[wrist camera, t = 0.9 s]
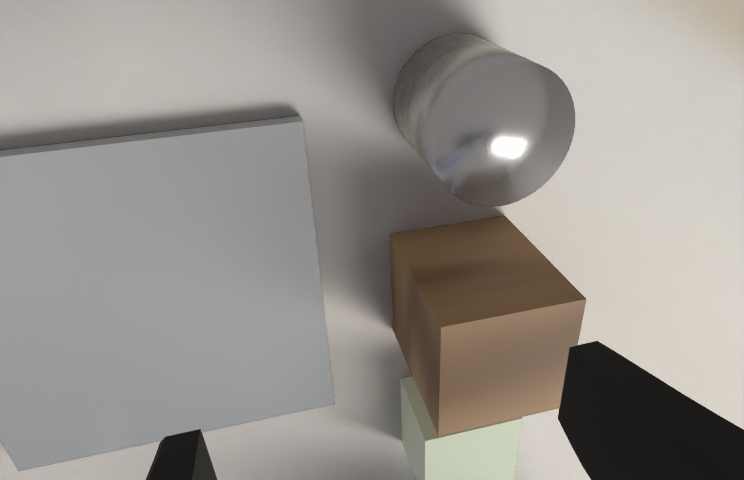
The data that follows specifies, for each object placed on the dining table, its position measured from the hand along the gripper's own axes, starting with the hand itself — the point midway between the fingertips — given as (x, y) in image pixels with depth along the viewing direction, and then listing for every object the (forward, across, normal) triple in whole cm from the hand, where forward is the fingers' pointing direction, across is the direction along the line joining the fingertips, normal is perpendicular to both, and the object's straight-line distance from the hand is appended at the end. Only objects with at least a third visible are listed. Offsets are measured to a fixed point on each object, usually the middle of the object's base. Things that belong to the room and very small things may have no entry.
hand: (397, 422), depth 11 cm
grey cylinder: (+10, -5, -3) cm, 11 cm away
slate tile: (+10, +6, +3) cm, 12 cm away
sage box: (+10, -4, +11) cm, 15 cm away
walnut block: (+10, -5, +4) cm, 11 cm away
